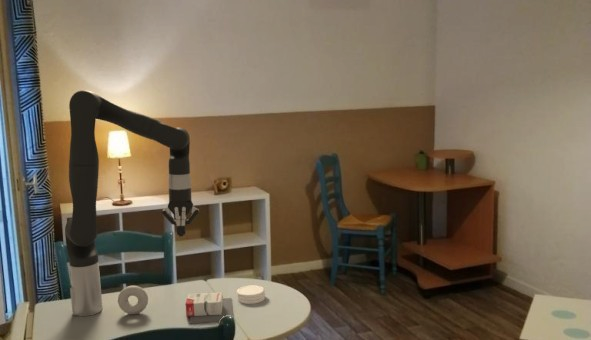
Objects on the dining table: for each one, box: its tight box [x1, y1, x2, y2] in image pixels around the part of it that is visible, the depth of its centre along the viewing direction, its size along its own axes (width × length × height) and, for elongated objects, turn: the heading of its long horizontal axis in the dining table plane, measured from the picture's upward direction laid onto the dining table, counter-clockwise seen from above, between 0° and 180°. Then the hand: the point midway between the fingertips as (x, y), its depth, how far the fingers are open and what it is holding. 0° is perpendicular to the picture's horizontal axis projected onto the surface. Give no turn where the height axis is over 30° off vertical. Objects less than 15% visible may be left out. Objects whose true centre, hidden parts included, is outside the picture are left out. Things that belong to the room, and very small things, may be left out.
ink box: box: [185, 291, 224, 318], centre depth 190 cm, size 9×5×12 cm
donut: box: [117, 285, 149, 315], centre depth 190 cm, size 10×3×10 cm, turn 94°
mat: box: [189, 297, 234, 325], centre depth 191 cm, size 14×18×1 cm
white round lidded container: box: [236, 284, 266, 305], centre depth 201 cm, size 10×10×4 cm
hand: (181, 235), depth 195 cm, fingers closed
